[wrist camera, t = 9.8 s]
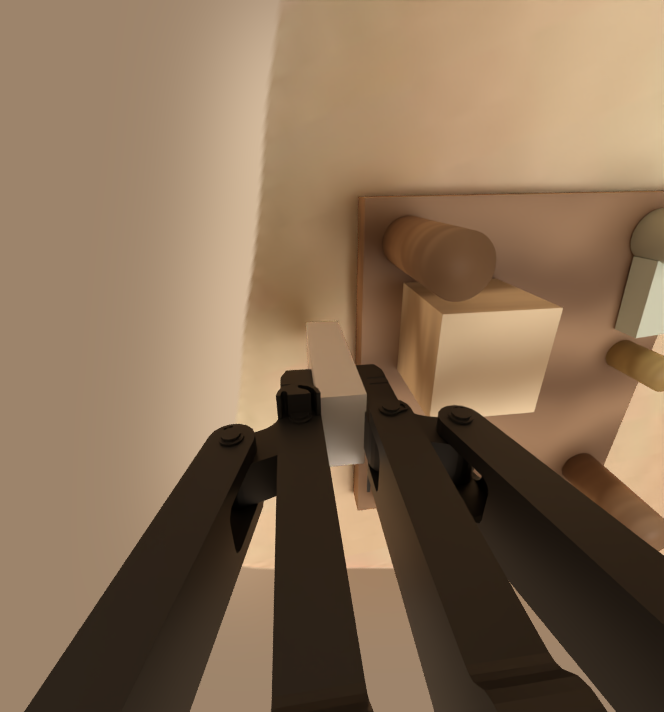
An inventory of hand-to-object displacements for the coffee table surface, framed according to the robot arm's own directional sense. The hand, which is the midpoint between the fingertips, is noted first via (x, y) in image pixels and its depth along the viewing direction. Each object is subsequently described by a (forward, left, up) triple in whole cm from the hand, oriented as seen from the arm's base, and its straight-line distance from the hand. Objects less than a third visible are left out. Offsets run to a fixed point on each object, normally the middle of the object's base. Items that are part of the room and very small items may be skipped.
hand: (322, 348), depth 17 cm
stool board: (+4, +11, -4) cm, 12 cm away
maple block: (0, +7, -2) cm, 7 cm away
